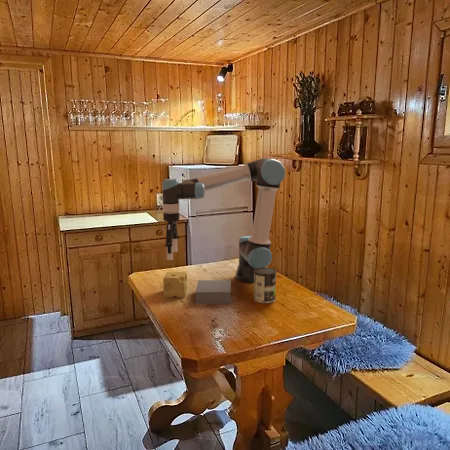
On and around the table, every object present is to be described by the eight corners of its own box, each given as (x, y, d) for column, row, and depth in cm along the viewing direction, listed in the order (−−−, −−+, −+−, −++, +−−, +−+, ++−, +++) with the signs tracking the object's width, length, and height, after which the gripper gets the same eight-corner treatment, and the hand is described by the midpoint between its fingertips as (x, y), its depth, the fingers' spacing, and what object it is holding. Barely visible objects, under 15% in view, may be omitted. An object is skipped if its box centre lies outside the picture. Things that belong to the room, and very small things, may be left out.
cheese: (185, 298, 193) (184, 278, 191) (162, 297, 193) (161, 277, 191) (187, 290, 203) (187, 271, 201) (166, 290, 203) (165, 270, 201)
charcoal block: (230, 291, 202) (230, 280, 200) (230, 304, 186) (230, 292, 185) (198, 291, 202) (198, 280, 200) (195, 304, 186) (195, 292, 185)
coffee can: (276, 295, 195) (277, 267, 192) (274, 304, 185) (275, 274, 182) (255, 294, 197) (255, 266, 194) (252, 302, 187) (252, 273, 184)
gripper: (168, 207, 203) (169, 248, 207) (157, 217, 179) (159, 263, 183) (182, 207, 203) (183, 248, 207) (174, 217, 178) (176, 263, 183)
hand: (172, 255), depth 195 cm, fingers open, 13 cm apart
